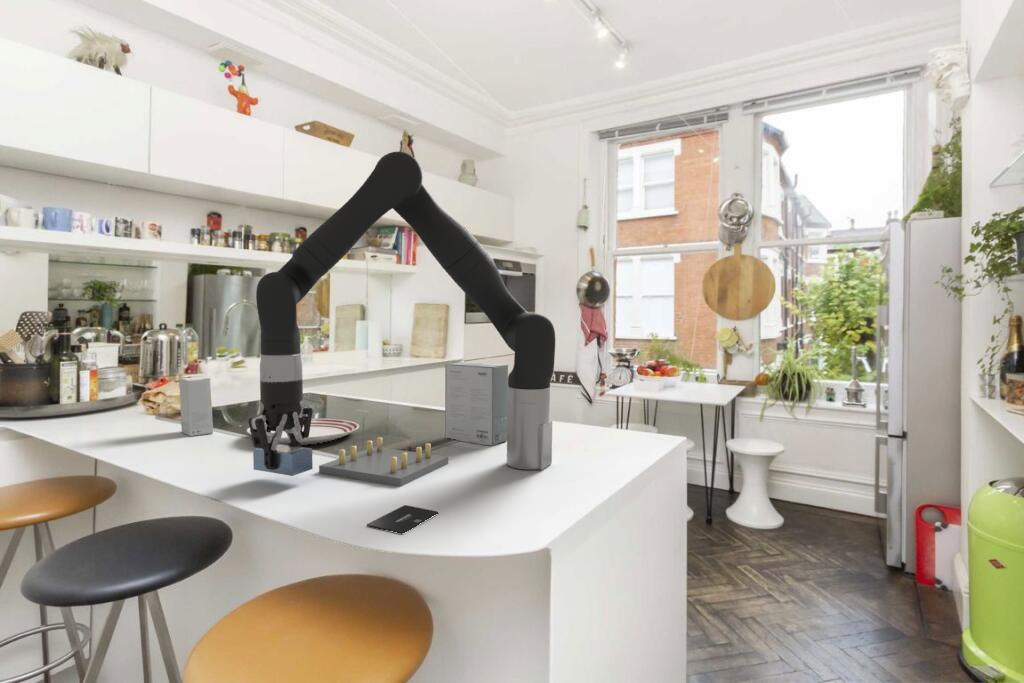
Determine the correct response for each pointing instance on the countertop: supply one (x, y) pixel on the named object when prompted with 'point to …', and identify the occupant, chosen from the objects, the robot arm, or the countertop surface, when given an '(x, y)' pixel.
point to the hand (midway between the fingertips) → (283, 464)
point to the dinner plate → (321, 431)
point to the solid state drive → (402, 519)
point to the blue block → (286, 460)
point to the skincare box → (196, 406)
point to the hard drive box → (476, 402)
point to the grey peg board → (384, 464)
